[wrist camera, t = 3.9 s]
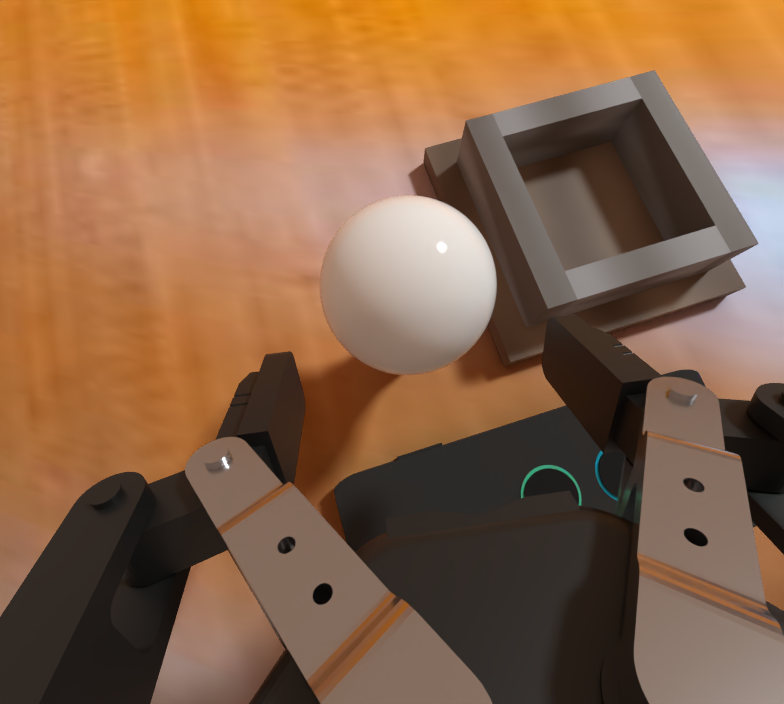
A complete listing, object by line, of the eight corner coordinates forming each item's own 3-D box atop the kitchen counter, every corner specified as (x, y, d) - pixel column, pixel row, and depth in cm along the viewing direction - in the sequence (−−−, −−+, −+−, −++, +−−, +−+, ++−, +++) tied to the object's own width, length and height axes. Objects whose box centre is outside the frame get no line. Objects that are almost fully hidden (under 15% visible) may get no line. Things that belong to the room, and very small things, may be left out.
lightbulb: (350, 404, 21) (305, 363, 10) (342, 296, 22) (296, 160, 12) (465, 393, 21) (541, 340, 10) (450, 286, 22) (502, 142, 12)
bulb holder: (622, 107, 25) (666, 43, 21) (727, 295, 22) (802, 262, 18) (423, 162, 24) (429, 105, 20) (504, 366, 21) (530, 348, 17)
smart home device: (779, 523, 18) (378, 667, 17) (746, 517, 20) (379, 647, 18) (696, 361, 20) (329, 479, 19) (672, 368, 22) (335, 476, 20)
